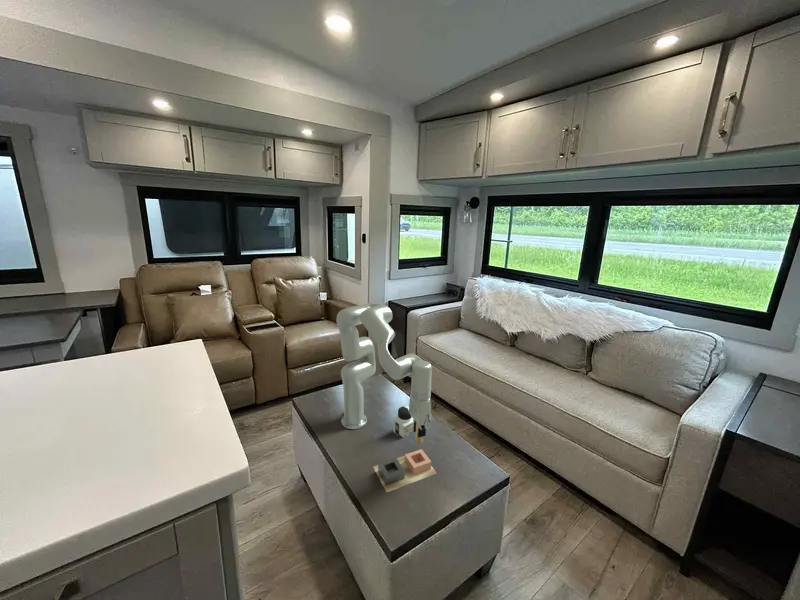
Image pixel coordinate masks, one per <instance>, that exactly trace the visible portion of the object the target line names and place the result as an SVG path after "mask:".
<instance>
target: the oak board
mask: <svg viewBox="0 0 800 600" xmlns="http://www.w3.org/2000/svg"><path fill="white" fill-rule="evenodd" d="M396 458H397V460H398V461H399V463H400V465H401V466H402V468H403V469H404V471H405V479H403V480H400V481H397V482H394V483H392V484H389V485H385V483H384V481H383V479H382V478H381V476H380V474H379V472H378V464H377V465H373V466H372V468H373V469H374V472H375V473H376V475H377V477H378V479H379V481H380V483H381V485H382V486H383V488H384V490H385V493H389V492H392V491H395V490H397V489H400V488H402V487H405V486H408V485H410V484H412V483H416V482H418V481H422V480H423V479H426V478H429V477H431V476H434V475H436V474H437V475H438V473H437V471H436V470H435V468H434V467H433V466H432V465H431V469H429V470H427V471H424V472H421V473H419V474H416V475H413V474H412V472H411V471H410V469H409V468H408V466H407V465H406V463H405V455H403V456H399V457H396ZM419 462H421V461H420V460H418V461H415V463H419ZM393 471H395V470H394V469H393V470H390V471H387V472H388V473H390V472H393Z"/></svg>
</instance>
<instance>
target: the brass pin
mask: <svg viewBox="0 0 800 600" xmlns="http://www.w3.org/2000/svg"><path fill="white" fill-rule="evenodd" d="M423 425H424V424H423ZM418 428H419V424H418V423H417V422H416V432H415V440H414V441H415V443H416V444H418V445H420V444H423V443H424V436H423V437H420V438H419V437H418Z"/></svg>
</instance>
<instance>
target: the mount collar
mask: <svg viewBox="0 0 800 600" xmlns="http://www.w3.org/2000/svg"><path fill="white" fill-rule="evenodd" d="M397 458H398V457H393V458H390V459H388V460H385V461H381V462H379V463H377V465H378V472H379V474H380V476H381V478H382V479H383V481H384V483H385V485H389V484H392V483H394V482H397V481H400V480H403V479H405V471H404V469H403V468H402V466H401V465H400V463H399V461H398V460H397ZM393 469H394V470H395V471H393V472H390V473H388V472H387V471H390V470H393Z"/></svg>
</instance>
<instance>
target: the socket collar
mask: <svg viewBox="0 0 800 600" xmlns="http://www.w3.org/2000/svg"><path fill="white" fill-rule="evenodd" d="M404 456H405V463H406V465H407V466H408V468H409V469H410V471H411V472H412V474H413V475H416V474H419V473H421V472H424V471H427V470H429V469H431V466H432V460H431V459H430V458H429V457H428V455H427V454H426V453H425V451H424V450H423V449H422V448H420V449H418V450H415V451H412V452H408V453H405V454H404ZM418 460H420V461H421V462H419V463H415V461H418Z"/></svg>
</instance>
